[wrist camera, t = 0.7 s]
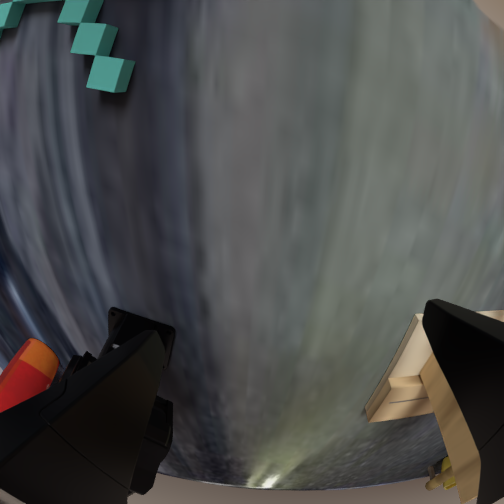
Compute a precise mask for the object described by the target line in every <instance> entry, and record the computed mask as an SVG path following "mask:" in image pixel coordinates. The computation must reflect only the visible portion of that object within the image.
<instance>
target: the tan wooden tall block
mask: <svg viewBox="0 0 504 504" xmlns="http://www.w3.org/2000/svg"><path fill="white" fill-rule="evenodd" d="M419 374H420V376H421V379H422V381H423V384H424V386H425V389H426V391H427V394H428V397H429V399H430V402H431V405H432V408H433V410H434V413H435V416H436V419H437V422H438V425H439V427H440V430H441V433H442V437H443V440H444V443H445V446H446V449H447V452H448V456H449V459H450V463H451V466H450V467H449V468H447V469H446V470H444V471H443V472H442V473H440V474H439V475H437V476H436V477H435V473H434V469H433V466H430V467H428V472H429V476H430V481H428V482H427V483H426V486H425V487H426V489H427V490H433V489H434V488H436V487H437V486H439V485H441V484H442V483H444V482H445V481H447V480H448V479H450V478H451V477H453V476H454V477H455V481H456V485H457V489H458V493H459V497H460V501H461V504H463V503H466V502H468V501H470V500H472V499H474V498H476V497H477V496H478V488H479V480H480V469H481V461H480V456H479V453H478V450H477V448H476V445H475V442H474V440H473V438H472V435H471V433H470V430H469V428H468V426H467V423H466V421H465V419H464V416H463V414H462V412H461V410H460V407H459V405H458V403H457V401H456V399H455V397H454V394H453V392H452V390H451V388H450V386H449V384H448V382H447V380H446V378H445V376H444V374H443V372H442V370H441V368H440V366H439V364H438V362H437V360H436V358H435V356H434V354H433V352H432V353H431V355H430V357H429V358H428V360H427V362H426V363H425V365H424V366H423V368H422V369H421V371H420V373H419Z"/></svg>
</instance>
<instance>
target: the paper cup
mask: <svg viewBox="0 0 504 504" xmlns="http://www.w3.org/2000/svg"><path fill="white" fill-rule="evenodd" d="M58 367H59V359H58V357H57V356H56V354H55V353H54V352H53V351H52V349H51V348H49V347H48V346H47V345H46V344H44V343H43V342H41V341H40V340H37V339H35V338H30V339H28V340H27V341H26V342H25V344H24V345H23V346H22V347H21V349H20V350H19V351H18V352H17V354H16V355H15V356H14V357H13V359H12V360H11V361H10V363H9V364H8V365H7V367H6V368H5V369H4V371H3V372H2V374H1V375H0V412H2V411H4V410H7V409H9V408H11V407H13V406H15V405H17V404H19V403H21V402H23V401H25V400H27V399H29V398H31V397H33V396H35V395H37V394H39V393H41V392H43V391H45V390H46V389H48V388H49V387H50V385H51V383H52V380H53V378H54V376H55V374H56V371H57V369H58Z"/></svg>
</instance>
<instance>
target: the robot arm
mask: <svg viewBox="0 0 504 504" xmlns="http://www.w3.org/2000/svg"><path fill="white" fill-rule="evenodd" d="M422 326H423V329H424V331H425V334H426V336H427V338H428V341H429V343H430V346H431V349H432V351H433V354H434V356H435V358H436V360H437V362H438V364H439V366H440V368H441V370H442V372H443V374H444V376H445V378H446V380H447V382H448V384H449V386H450V388H451V390H452V392H453V394H454V397H455V399H456V401H457V403H458V405H459V407H460V410H461V412H462V414H463V416H464V419H465V421H466V423H467V426H468V428H469V430H470V433H471V435H472V438H473V440H474V442H475V445H476V448H477V450H478V453H479V456H480V461H481V469H480V480H479V488H478V496H477V503H476V504H492V503H494V502H496V501H498V500H499V499H501V498H503V497H504V322H502V321H499V320H497V319H494V318H491V317H488V316H485V315H483V314H480V313H477V312H474V311H471V310H469V309H466V308H463V307H460V306H457V305H454V304H452V303H449V302H446V301H443V300H440V299H432V300H428V301H427V303H426V306H425V310H424V313H423V317H422ZM108 330H109V337H108V339H107V341H106V343H105V345H104V347H103V348H102V350H101V352H100V354H99V356H98V358H97V359H96V358H95V357H93V356H92V354H91V353H89V352H88V351H86V352H85V354H84V355H83V357H82V356H81V355H80V356H77V355H73V357H72V359H71V360H70V362H69V364H68V366H67V368H66V370H65V372H64V373H63V375H62V377H61V379H60V381H59V383H57V384H55V385H53V386H52V387H50V388H48V389H46V390H45V391H43V392H41V393H39V394H37V395H35V396H33V397H31V398H29V399H27V400H25V401H23V402H21V403H19V404H17V405H15V406H13V407H11V408H9V409H7V410H4V411H2V412H0V504H127V497H128V496H130V495H132V494H133V493H138V494H141V495H144V494H146V493H147V492H148V491H149V490H150V489H151V488H152V487H153V484H154V480H155V477H156V473H157V470H158V467H159V465H160V463H161V462H162V461H163V459H164V458H165V457H166V455H167V454H168V451H169V449H170V447H171V443H172V437H173V403H172V402H170V401H169V400H165V399H163V398H161V397H159V396H157V391H158V388H159V383H160V378H161V373H162V370H165V369H167V366H168V361H169V356H170V351H171V347H172V342H173V337H174V333H175V330H174V328H173V327H171V326H168V325H165V324H162V323H159V322H156V321H153V320H150V319H147V318H144V317H141V316H138V315H135V314H132V313H129V312H126V311H123V310H121V309H118V308H115V307H111V308H110V310H109V312H108ZM169 331H170V332H169Z"/></svg>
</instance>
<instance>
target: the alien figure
mask: <svg viewBox="0 0 504 504" xmlns="http://www.w3.org/2000/svg"><path fill="white" fill-rule="evenodd" d="M48 1H60V0H13V2H10V3H5V4H0V38H1V35H2V32H3V29H5V28H15V27H18V24H19V21H20V18H21V15H22V13H23V10H24V7H25V5H26V4H30V3H38V2H48ZM103 1H104V0H66V1H65V4H64V6H63V9H62V11H61V14H60V17H59V19H58V22H57V23H62V24H67V25H75V26H79V28H78V31H77V34H76V36H75V39H74V42H73V46H72V49H71V52H70V53H78V54H87V55H95V59H94V62H93V65H92V68H91V72H90V75H89V79H88V83H87V86H86V87H87V88H93V89H98V90H103V91H109V92H113V93H115V92H126V90H127V86H128V83H129V80H130V77H131V74H132V70H133V67H134V64H135V61H130V60H125V59H119V58H112V57H109V54H110V51H111V48H112V45H113V42H114V39H115V37H116V34H117V31H118V29H119V28H116V27H114V26H111V25H108V24H98V23H95V21H96V18H97V16H98V13H99V11H100V8H101V6H102V4H103Z"/></svg>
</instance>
